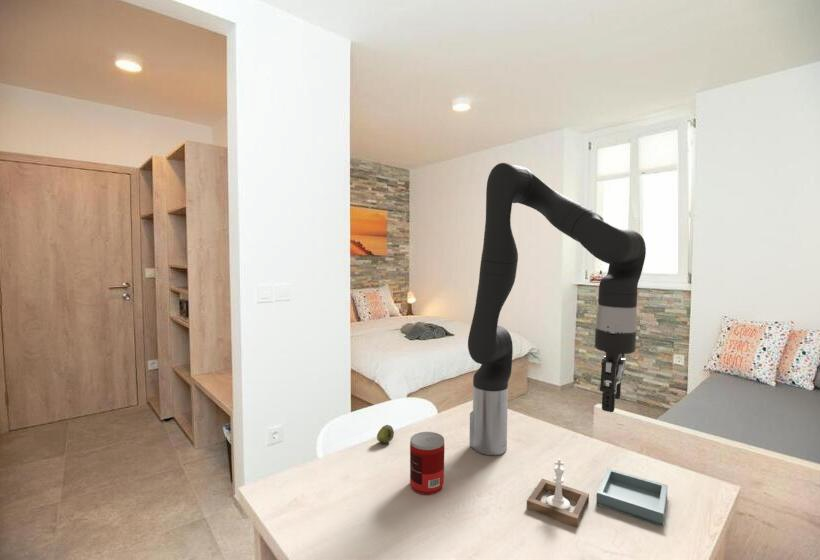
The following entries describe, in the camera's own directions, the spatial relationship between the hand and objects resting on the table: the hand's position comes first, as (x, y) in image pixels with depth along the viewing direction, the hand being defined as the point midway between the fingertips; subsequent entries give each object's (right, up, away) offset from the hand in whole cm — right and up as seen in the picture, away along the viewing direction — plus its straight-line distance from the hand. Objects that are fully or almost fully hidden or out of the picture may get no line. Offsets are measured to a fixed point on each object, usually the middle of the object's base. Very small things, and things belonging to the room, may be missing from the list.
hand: (611, 404), depth 85 cm
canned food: (-38, -21, +8) cm, 44 cm away
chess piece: (-11, -22, +1) cm, 24 cm away
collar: (-11, -22, +1) cm, 24 cm away
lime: (-49, -20, +30) cm, 60 cm away
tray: (+6, -22, +3) cm, 23 cm away
